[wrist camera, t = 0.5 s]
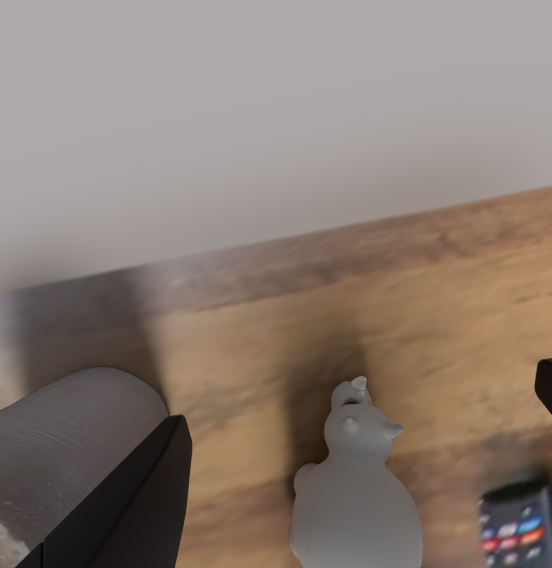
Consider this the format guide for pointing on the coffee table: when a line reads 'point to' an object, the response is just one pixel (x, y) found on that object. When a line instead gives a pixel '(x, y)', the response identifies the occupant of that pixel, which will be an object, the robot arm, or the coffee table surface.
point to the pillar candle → (66, 449)
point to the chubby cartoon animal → (355, 493)
